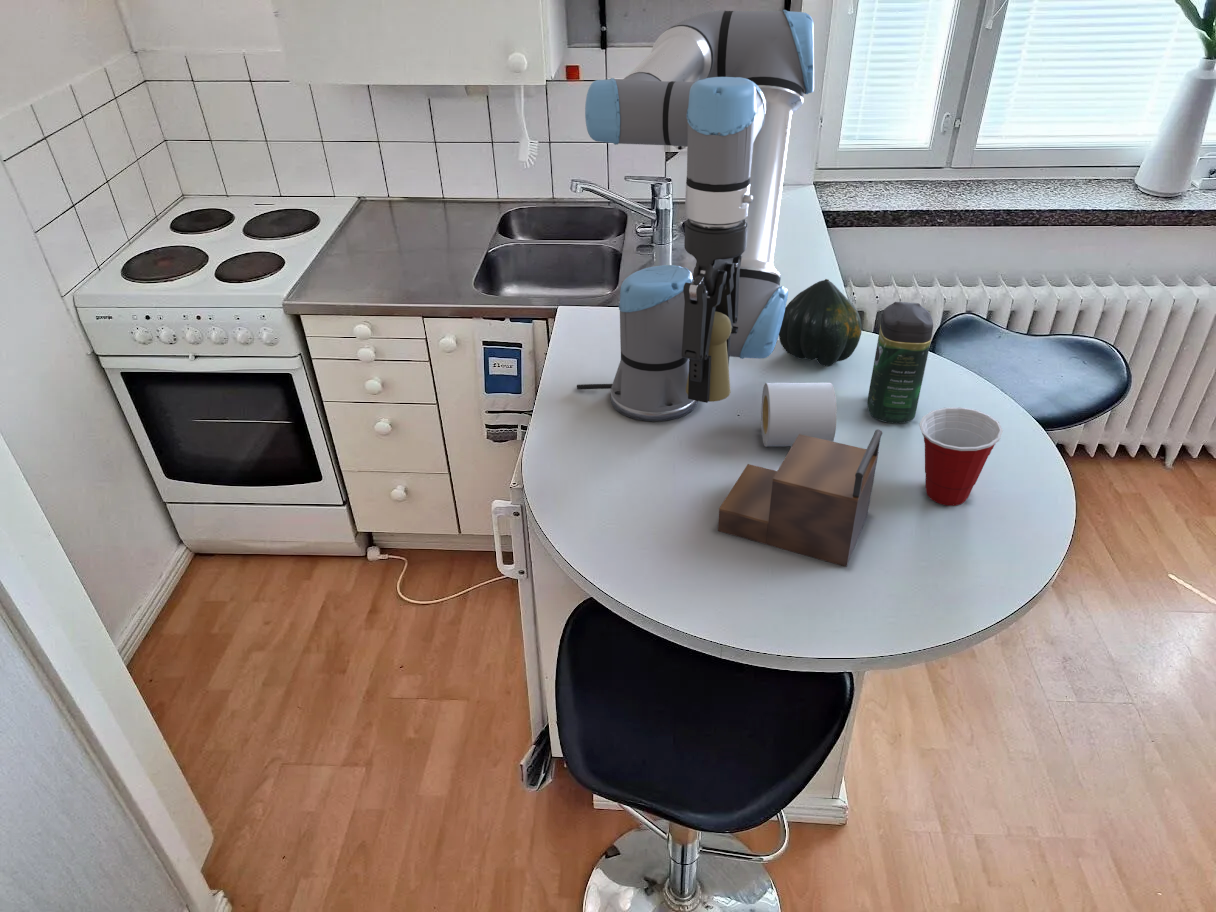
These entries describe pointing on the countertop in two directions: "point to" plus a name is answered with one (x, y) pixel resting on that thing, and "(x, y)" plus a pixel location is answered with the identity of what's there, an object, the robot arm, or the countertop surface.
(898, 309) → the coffee jar
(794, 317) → the squash
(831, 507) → the brown wooden stepped block
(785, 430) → the toilet paper
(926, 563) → the countertop surface
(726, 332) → the pale yellow rounded piece
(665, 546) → the countertop surface
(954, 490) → the plastic cup
